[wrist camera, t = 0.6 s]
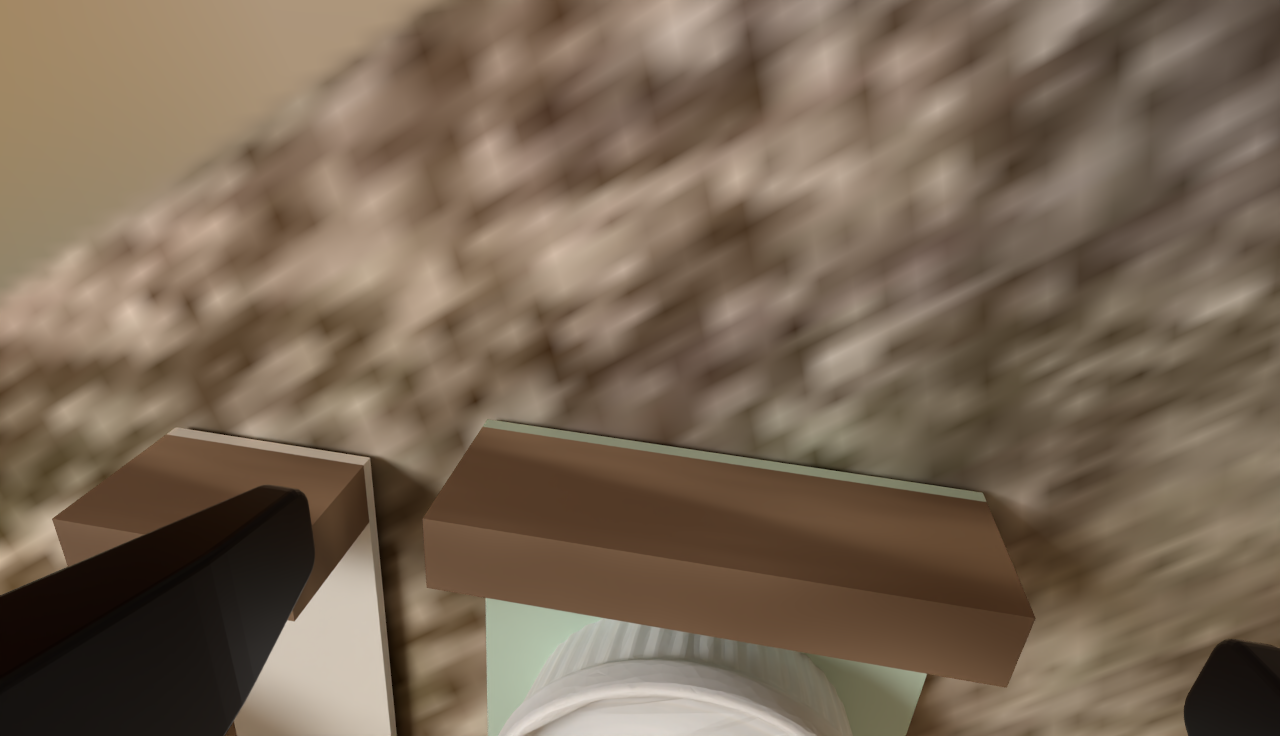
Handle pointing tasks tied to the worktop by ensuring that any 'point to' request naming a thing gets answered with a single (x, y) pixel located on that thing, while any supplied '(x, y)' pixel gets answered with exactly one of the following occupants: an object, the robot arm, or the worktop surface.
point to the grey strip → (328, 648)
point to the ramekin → (675, 688)
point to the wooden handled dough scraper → (725, 563)
